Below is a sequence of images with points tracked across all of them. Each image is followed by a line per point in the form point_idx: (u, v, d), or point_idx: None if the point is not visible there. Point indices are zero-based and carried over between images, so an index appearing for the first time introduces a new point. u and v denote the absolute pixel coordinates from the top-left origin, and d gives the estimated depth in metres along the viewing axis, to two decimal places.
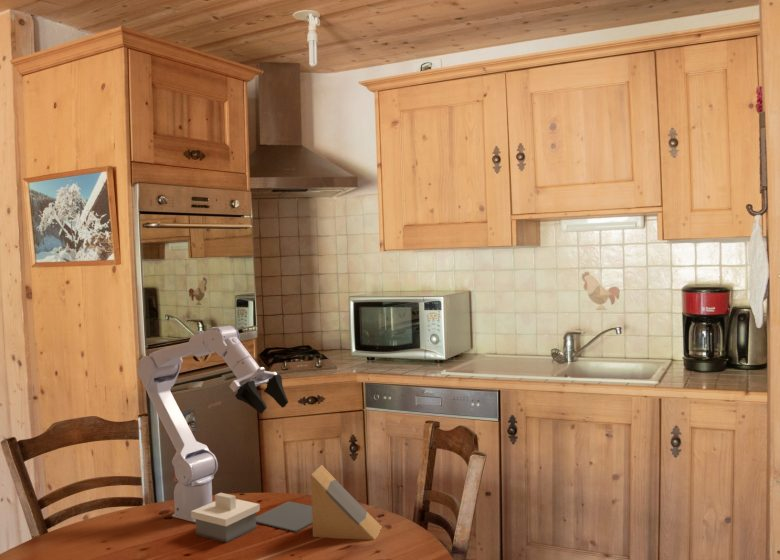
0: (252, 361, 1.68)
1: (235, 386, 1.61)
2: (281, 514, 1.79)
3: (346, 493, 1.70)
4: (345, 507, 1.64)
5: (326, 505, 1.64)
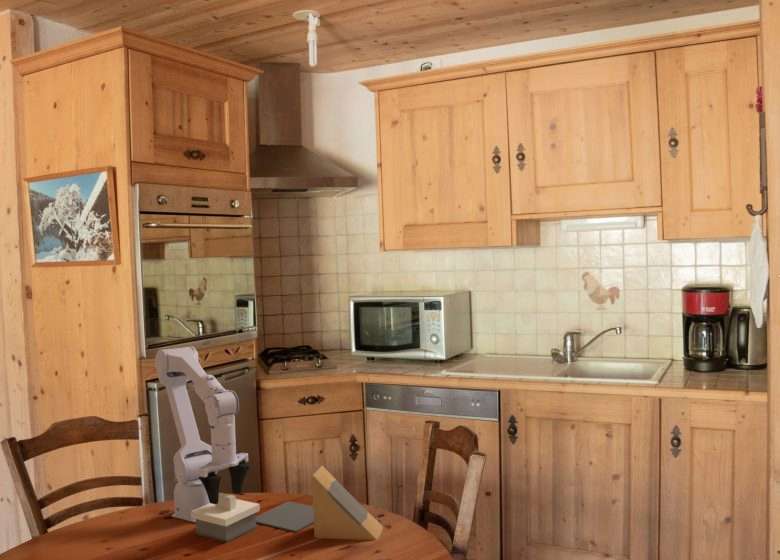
0: (232, 449, 1.68)
1: (203, 474, 1.63)
2: (281, 514, 1.79)
3: (347, 493, 1.70)
4: (347, 508, 1.64)
5: (328, 505, 1.64)
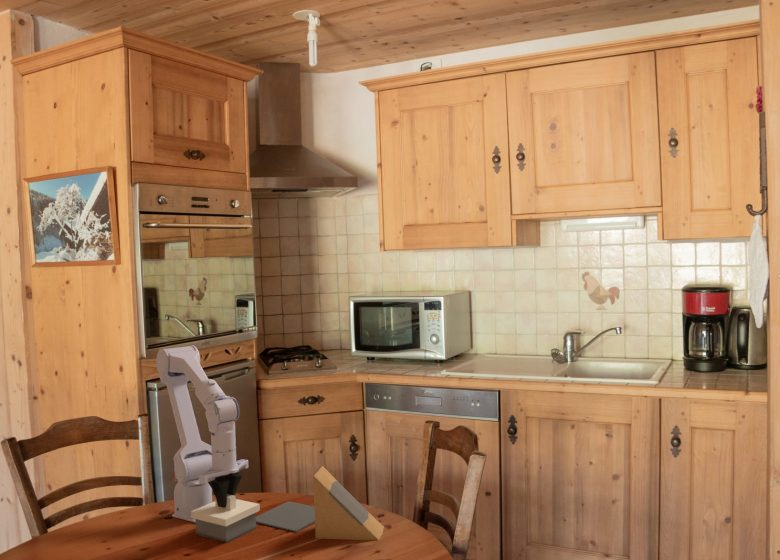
0: (232, 456, 1.68)
1: (203, 481, 1.63)
2: (281, 514, 1.79)
3: (348, 494, 1.69)
4: (348, 508, 1.64)
5: (329, 506, 1.64)
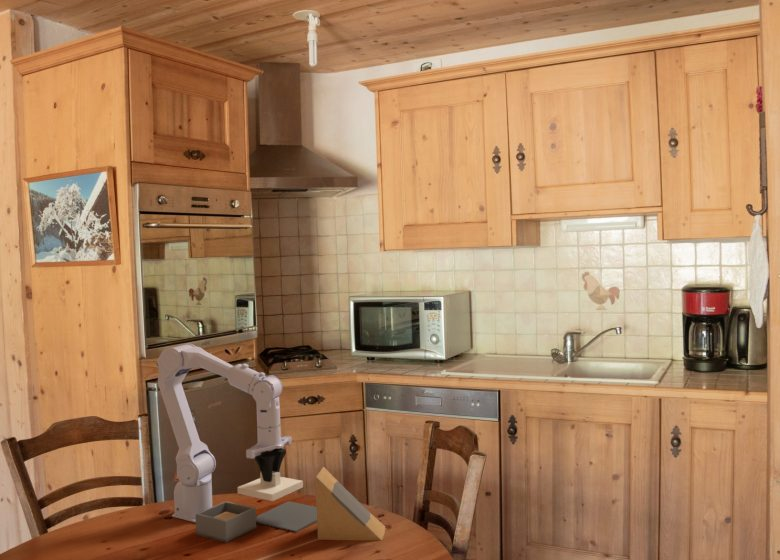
0: (278, 432, 1.73)
1: (250, 456, 1.69)
2: (281, 514, 1.79)
3: (349, 494, 1.69)
4: (351, 509, 1.63)
5: (332, 507, 1.63)
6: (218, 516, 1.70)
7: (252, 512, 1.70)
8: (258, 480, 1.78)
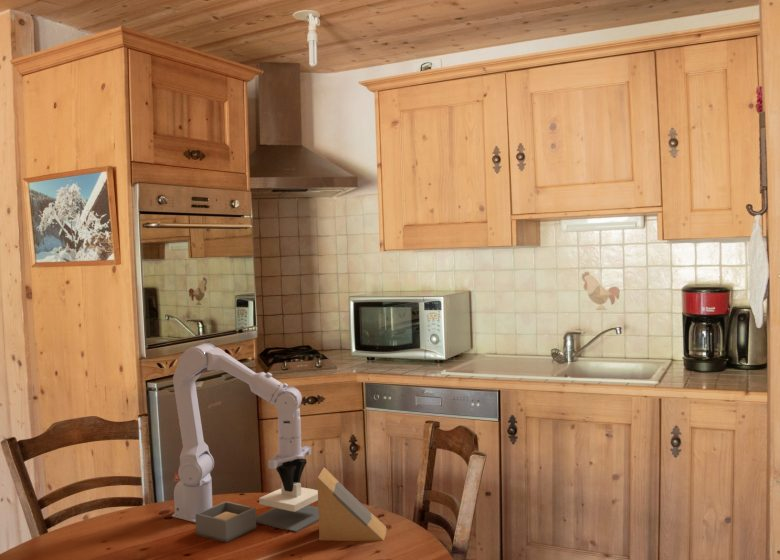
0: (299, 443, 1.76)
1: (272, 466, 1.72)
2: (281, 514, 1.79)
3: (350, 495, 1.69)
4: (353, 509, 1.63)
5: (334, 507, 1.63)
6: (218, 516, 1.70)
7: (252, 512, 1.70)
8: (279, 491, 1.81)
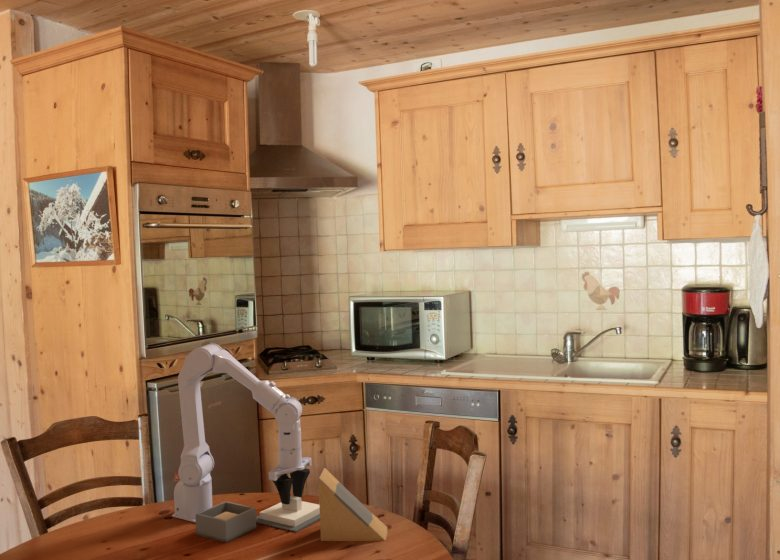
0: (299, 454, 1.76)
1: (273, 478, 1.72)
2: None
3: (351, 495, 1.68)
4: (354, 509, 1.63)
5: (335, 508, 1.62)
6: (218, 516, 1.70)
7: (252, 512, 1.70)
8: (279, 504, 1.81)
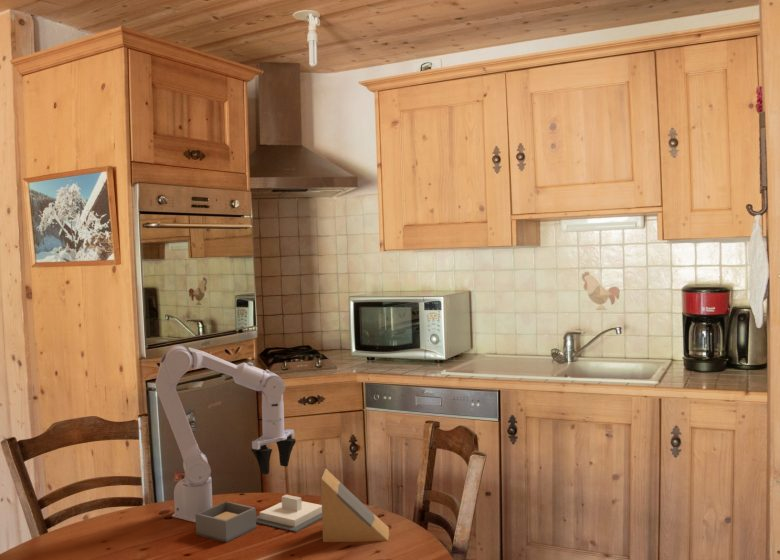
0: (281, 425, 1.85)
1: (256, 447, 1.81)
2: None
3: (353, 495, 1.68)
4: (357, 510, 1.62)
5: (337, 509, 1.62)
6: (218, 516, 1.70)
7: (252, 512, 1.70)
8: (279, 504, 1.81)
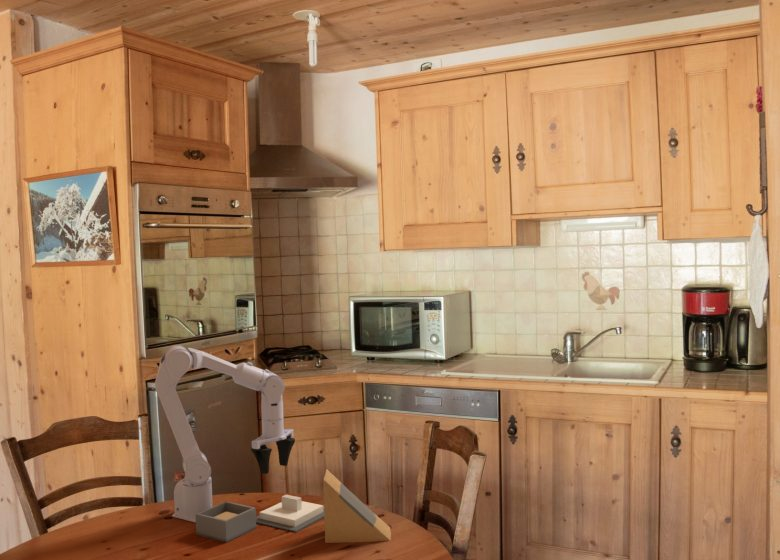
0: (281, 425, 1.86)
1: (255, 446, 1.81)
2: None
3: (354, 496, 1.68)
4: (359, 510, 1.62)
5: (340, 509, 1.61)
6: (218, 516, 1.70)
7: (252, 512, 1.70)
8: (279, 504, 1.81)
